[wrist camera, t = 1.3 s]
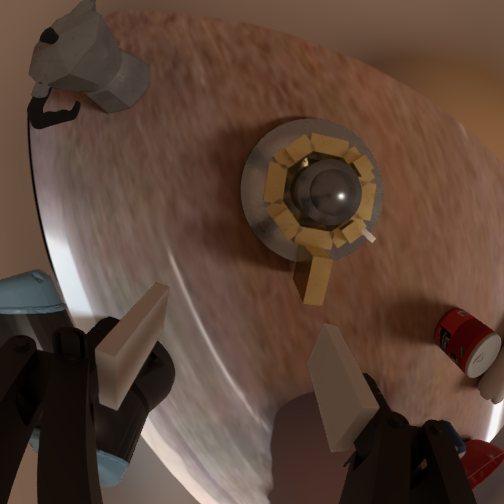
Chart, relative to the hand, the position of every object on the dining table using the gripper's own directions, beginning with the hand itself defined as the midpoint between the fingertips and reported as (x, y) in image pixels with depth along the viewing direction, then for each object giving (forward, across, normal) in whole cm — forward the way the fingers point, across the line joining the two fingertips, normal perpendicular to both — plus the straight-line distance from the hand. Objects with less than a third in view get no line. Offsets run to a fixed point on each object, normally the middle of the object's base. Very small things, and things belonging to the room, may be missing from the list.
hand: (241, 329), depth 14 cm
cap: (+21, -6, -9) cm, 24 cm away
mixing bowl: (+22, -80, +49) cm, 96 cm away
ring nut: (+20, -6, -6) cm, 22 cm away
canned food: (+22, -38, +5) cm, 44 cm away
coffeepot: (+22, +23, -17) cm, 36 cm away
